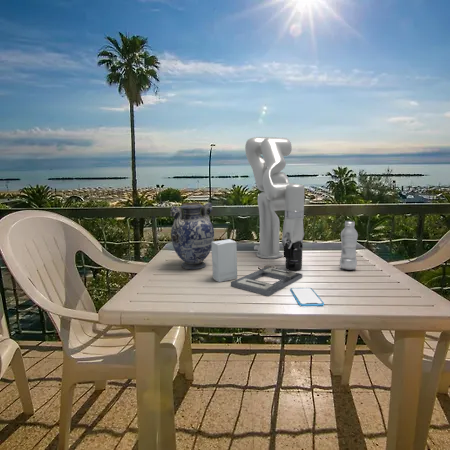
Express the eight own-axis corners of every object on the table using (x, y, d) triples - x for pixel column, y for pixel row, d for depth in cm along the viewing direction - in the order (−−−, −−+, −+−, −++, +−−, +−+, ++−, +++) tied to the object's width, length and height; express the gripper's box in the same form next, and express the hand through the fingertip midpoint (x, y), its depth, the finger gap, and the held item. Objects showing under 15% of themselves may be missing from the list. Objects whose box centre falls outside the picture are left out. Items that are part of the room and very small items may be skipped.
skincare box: (230, 275, 127) (230, 238, 125) (238, 279, 122) (237, 241, 120) (211, 278, 124) (210, 240, 122) (218, 282, 119) (217, 243, 116)
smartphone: (311, 287, 111) (324, 303, 96) (311, 290, 111) (324, 307, 96) (289, 288, 111) (299, 304, 96) (289, 291, 111) (299, 308, 96)
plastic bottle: (358, 272, 128) (360, 222, 125) (340, 271, 130) (342, 222, 127) (355, 267, 135) (357, 220, 132) (338, 266, 136) (340, 220, 133)
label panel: (230, 286, 115) (230, 281, 115) (267, 270, 133) (267, 266, 133) (268, 296, 105) (268, 291, 104) (302, 277, 123) (302, 273, 122)
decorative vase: (184, 276, 127) (181, 206, 123) (162, 266, 141) (158, 203, 137) (225, 265, 140) (224, 202, 136) (201, 258, 155) (199, 200, 150)
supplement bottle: (292, 272, 130) (292, 243, 128) (282, 268, 136) (282, 240, 134) (305, 269, 133) (306, 241, 131) (294, 265, 139) (295, 238, 137)
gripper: (295, 211, 139) (294, 249, 142) (275, 216, 126) (274, 258, 129) (312, 213, 135) (310, 252, 138) (292, 218, 122) (291, 261, 125)
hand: (293, 255), depth 133 cm, fingers open, 9 cm apart
